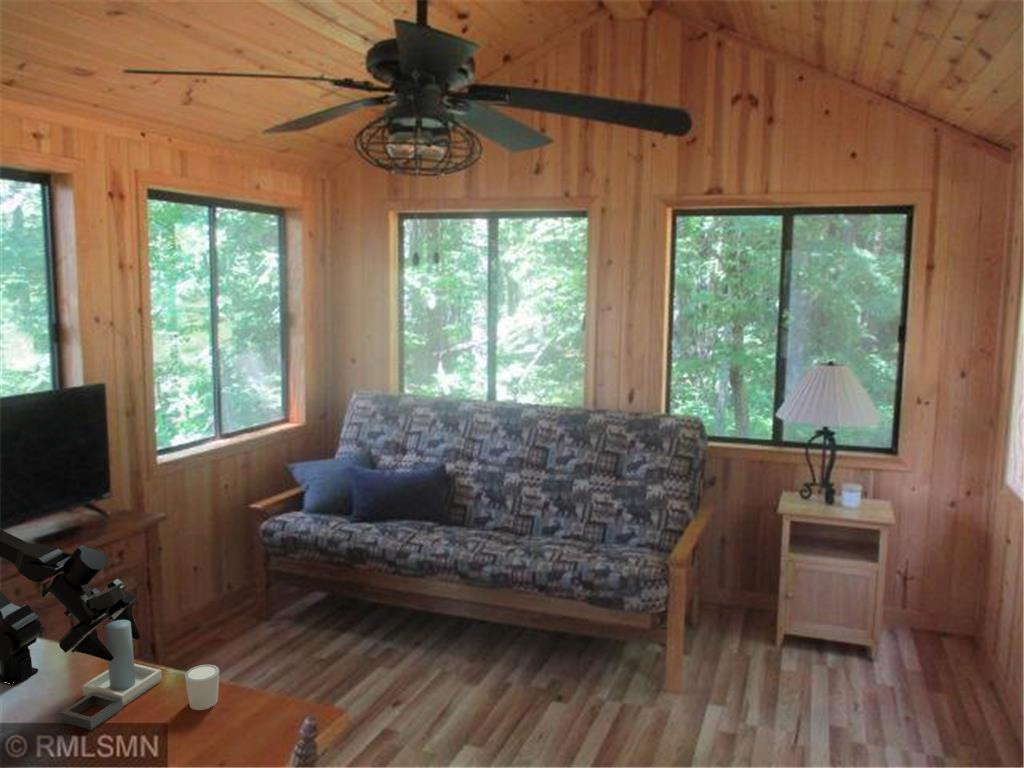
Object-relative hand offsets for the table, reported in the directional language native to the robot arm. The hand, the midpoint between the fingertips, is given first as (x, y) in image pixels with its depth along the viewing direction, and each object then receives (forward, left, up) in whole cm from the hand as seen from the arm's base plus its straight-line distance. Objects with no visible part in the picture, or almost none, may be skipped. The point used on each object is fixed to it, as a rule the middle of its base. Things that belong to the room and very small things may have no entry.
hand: (125, 648), depth 173 cm
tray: (-1, 0, -9) cm, 10 cm away
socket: (+1, -10, -9) cm, 14 cm away
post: (-1, 0, -9) cm, 9 cm away
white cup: (+19, +2, -10) cm, 21 cm away
